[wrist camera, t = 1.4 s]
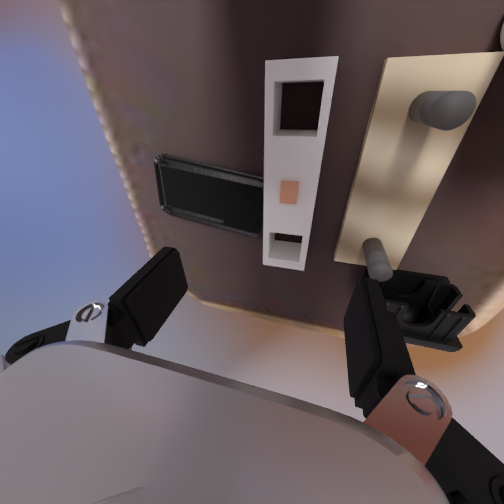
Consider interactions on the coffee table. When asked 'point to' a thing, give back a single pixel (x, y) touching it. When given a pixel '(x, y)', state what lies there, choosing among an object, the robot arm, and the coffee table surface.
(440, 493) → the robot arm
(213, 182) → the phone
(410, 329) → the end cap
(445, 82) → the board
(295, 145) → the white long block
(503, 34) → the photo printer
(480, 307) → the coffee table surface
